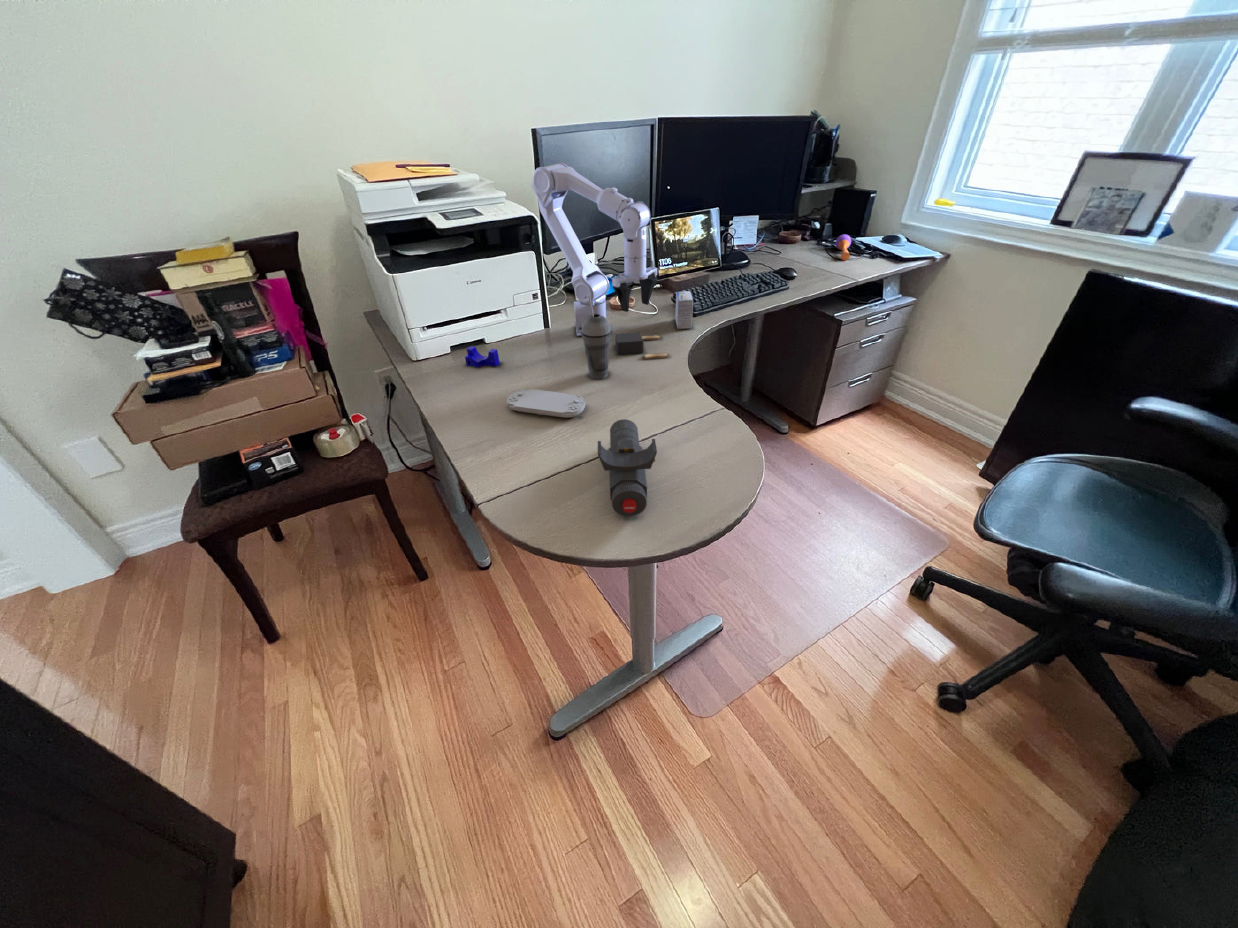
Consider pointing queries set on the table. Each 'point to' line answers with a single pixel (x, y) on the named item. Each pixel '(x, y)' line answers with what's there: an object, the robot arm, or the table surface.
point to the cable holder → (481, 358)
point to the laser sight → (627, 467)
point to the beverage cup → (596, 343)
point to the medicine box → (684, 310)
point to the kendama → (843, 246)
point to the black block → (629, 343)
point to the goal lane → (648, 356)
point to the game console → (546, 403)
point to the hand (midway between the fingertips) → (635, 307)
